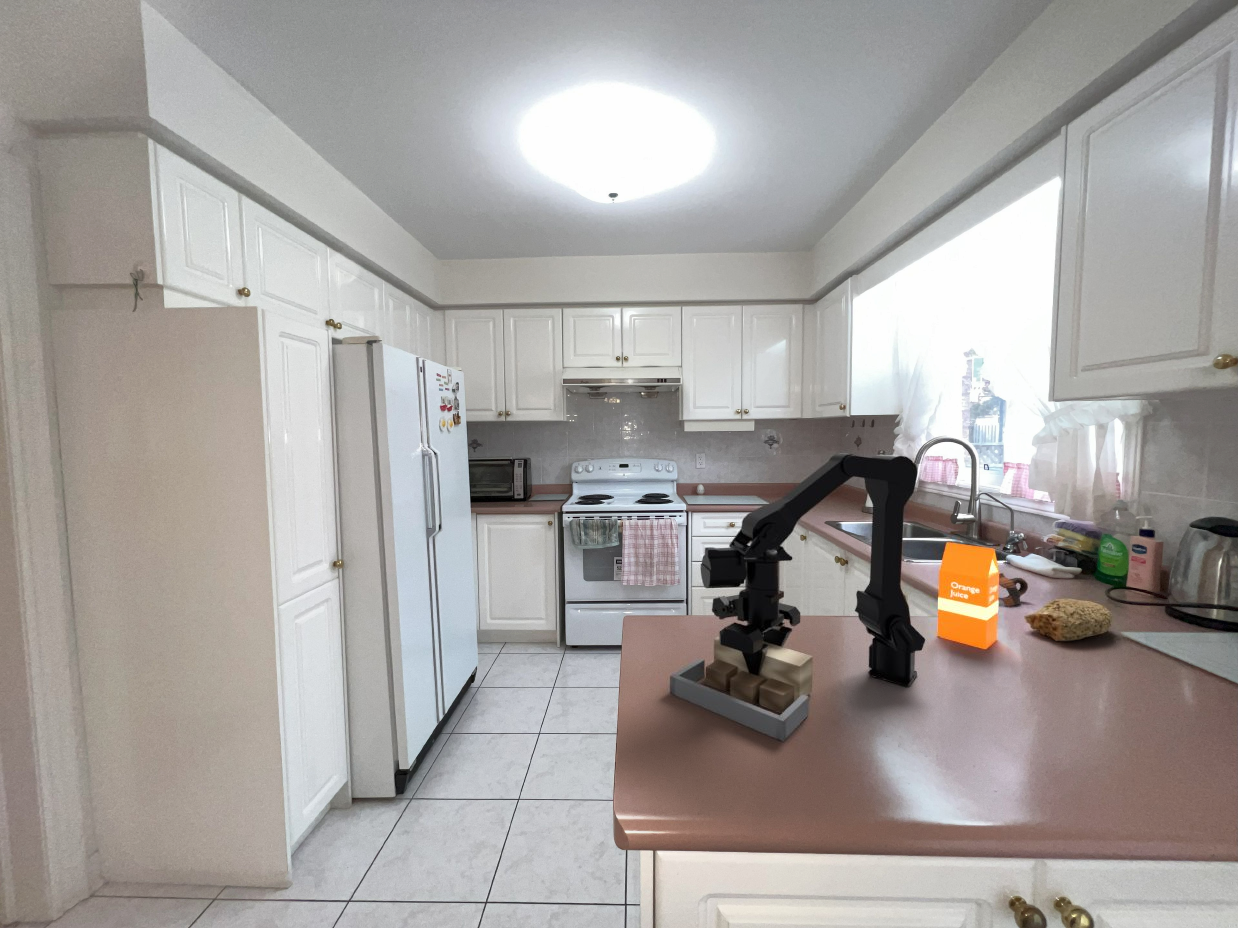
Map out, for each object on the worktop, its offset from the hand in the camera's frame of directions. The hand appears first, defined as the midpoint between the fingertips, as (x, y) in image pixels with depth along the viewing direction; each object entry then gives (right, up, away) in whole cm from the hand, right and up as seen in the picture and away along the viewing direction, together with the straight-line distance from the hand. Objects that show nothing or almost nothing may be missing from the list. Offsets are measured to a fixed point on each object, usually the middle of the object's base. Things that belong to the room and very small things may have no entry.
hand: (761, 673), depth 87 cm
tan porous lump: (+75, -1, +23) cm, 78 cm away
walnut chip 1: (-7, -2, 0) cm, 7 cm away
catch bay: (-6, -2, -7) cm, 9 cm away
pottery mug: (+75, +1, +43) cm, 87 cm away
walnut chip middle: (-4, -2, -4) cm, 6 cm away
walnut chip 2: (+1, -2, -7) cm, 7 cm away
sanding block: (0, -1, 0) cm, 1 cm away
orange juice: (+49, -1, +19) cm, 53 cm away
